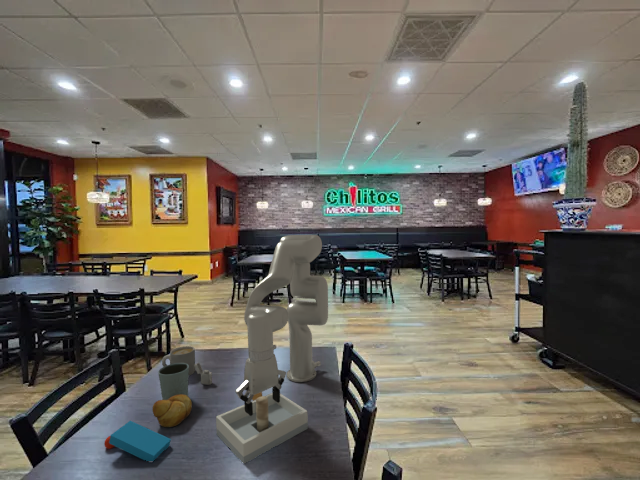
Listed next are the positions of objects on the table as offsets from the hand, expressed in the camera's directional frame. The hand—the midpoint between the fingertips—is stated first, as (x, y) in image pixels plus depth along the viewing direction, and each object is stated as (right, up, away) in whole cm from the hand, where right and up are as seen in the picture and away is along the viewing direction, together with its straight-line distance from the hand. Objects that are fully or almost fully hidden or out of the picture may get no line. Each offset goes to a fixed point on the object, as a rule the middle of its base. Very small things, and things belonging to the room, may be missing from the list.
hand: (263, 406), depth 97 cm
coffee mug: (-44, -7, +42) cm, 61 cm away
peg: (0, -7, -1) cm, 7 cm away
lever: (-35, -9, -8) cm, 37 cm away
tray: (0, -7, -1) cm, 7 cm away
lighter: (-30, -7, +31) cm, 44 cm away
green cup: (-36, -8, +18) cm, 41 cm away
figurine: (-6, -7, +16) cm, 18 cm away
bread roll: (-30, -8, +7) cm, 32 cm away
